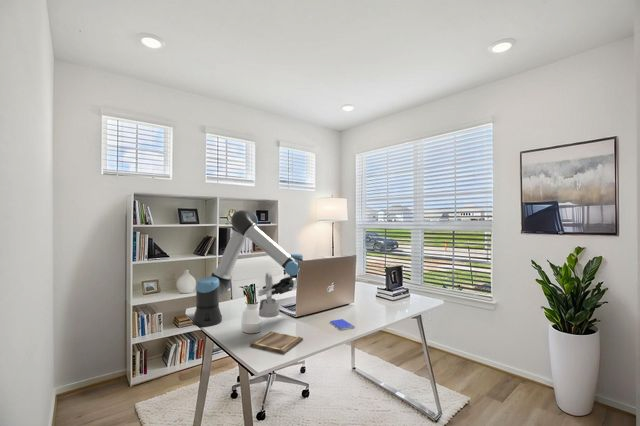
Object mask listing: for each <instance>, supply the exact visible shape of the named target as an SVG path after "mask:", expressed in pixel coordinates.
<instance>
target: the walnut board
mask: <svg viewBox="0 0 640 426" xmlns="http://www.w3.org/2000/svg"><path fill="white" fill-rule="evenodd" d="M303 341H304V338H303V337H301V336H296V335H291V334H287V333H280V332H276V331H269V332H267V333H266V334H264V335H262V336H260V337H259V338H257V339H255V340H253V341H252V342H250V343H249V346H250V347H252V348H256V349H261V350H265V351H269V352H274V353H278V354H282V355H285V354H287V353H288V352H290V351H291V350H292V349H294V348H295V347H297V345H299V344H300V343H302V342H303Z"/></svg>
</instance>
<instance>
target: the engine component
mask: <svg viewBox="0 0 640 426" xmlns="http://www.w3.org/2000/svg"><path fill="white" fill-rule="evenodd" d="M264 280H265V286H266V288H267V291H269V290H271V288H272V283H273V274H272V273H271V272H266V273H265V279H264ZM272 296H273V295H272ZM272 296H270V297H266V298H264V299H260V301H259V308H258V316H259V317H261V318H268V319H269V318H276V317H278V316H279V315H280V305H279V302H276V301H277V300H276V299H275V298H272Z"/></svg>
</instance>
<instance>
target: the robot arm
mask: <svg viewBox="0 0 640 426" xmlns="http://www.w3.org/2000/svg"><path fill="white" fill-rule="evenodd" d="M230 224H231V230H232V233H231V236H230V238H229V241H228V243H227V245H226V247H225V249H224V252H223V253H222V256H221V259H220V260H219V263H218V266H217V268H216V269H213V271H212V272H211V275H210V276H205V277H202V278H200V279H198V280H197V281H196V287H195V290H196V291H195V292H196V294H195V295H196V298H195V302H196V304H195V312H194V315H193V318H192V325H193V326H196V327H212V326H214V325H218V324H220V323H222V321H223V316H222V314H221V309H220V306H219V305H220V302H219V301H220V297H222V296H223V295H225V293H227V292H228V291H229V289H230V286H231V280H232V278H233V277H232V271H233V270H234V268H235V265H236V262H237V261H238V258H239V256H240V255H241V251H242V249H243V247H244V244H245V242H246V240H247V238H248V239H249V240H250V241H251V242H252V243H254V244H255V245H256V246H257V247H258V248H260V250H262V251H263V252H264V253H265V254H266V255H268V256H269V257H270V258H271V259H272V260H273V261H275V262H276V263H277V264H278V265H279V266H280V267H281V268H283V270H284V271H285V273H286V274H287V275H288V276H286V277H283V278H282V279H280V280H279V282H277V283H273V282H272V288H271V290H269V291H267V288H266V285H264V286H262V288H261V289H260V290H258V297H261V296H263V295H266V298H267V297H270V296H274V295H278V294H279V295H282V294H285V293H288V292H291V291H293V290H295V289H297V288H298V287H297V273H298V272H299V270H300V268H299V269H298V262H299V261H304V259H303V258H304V257H303V254H302V253H292V254H290V253H288V252H286V251H285V249H283V248H282V247H281V246H280V245H278V244H277V243H276V242H275V241H274V240H273V239H271V237H269V236H268V235H267V234H266V233H265V232H264V231H263V230H261V228H259V227H258V226H257V225H258V216H257V215H256V213H255V212H253V211H250V210H243V209H241V210H237V211H236V212H234V213H233V214H232V216H231V219H230Z"/></svg>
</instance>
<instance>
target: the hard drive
mask: <svg viewBox="0 0 640 426" xmlns="http://www.w3.org/2000/svg"><path fill="white" fill-rule="evenodd" d="M329 323H330V324H331V325H333V326H334V327H336V328H337V329H338V330H339V331H345V330H350V329H355V328H356V327H355V326H354V325H353V324H351V323H350V322H349V321H346V320H345V319H343V318H340V319H335V320H330V321H329Z"/></svg>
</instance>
